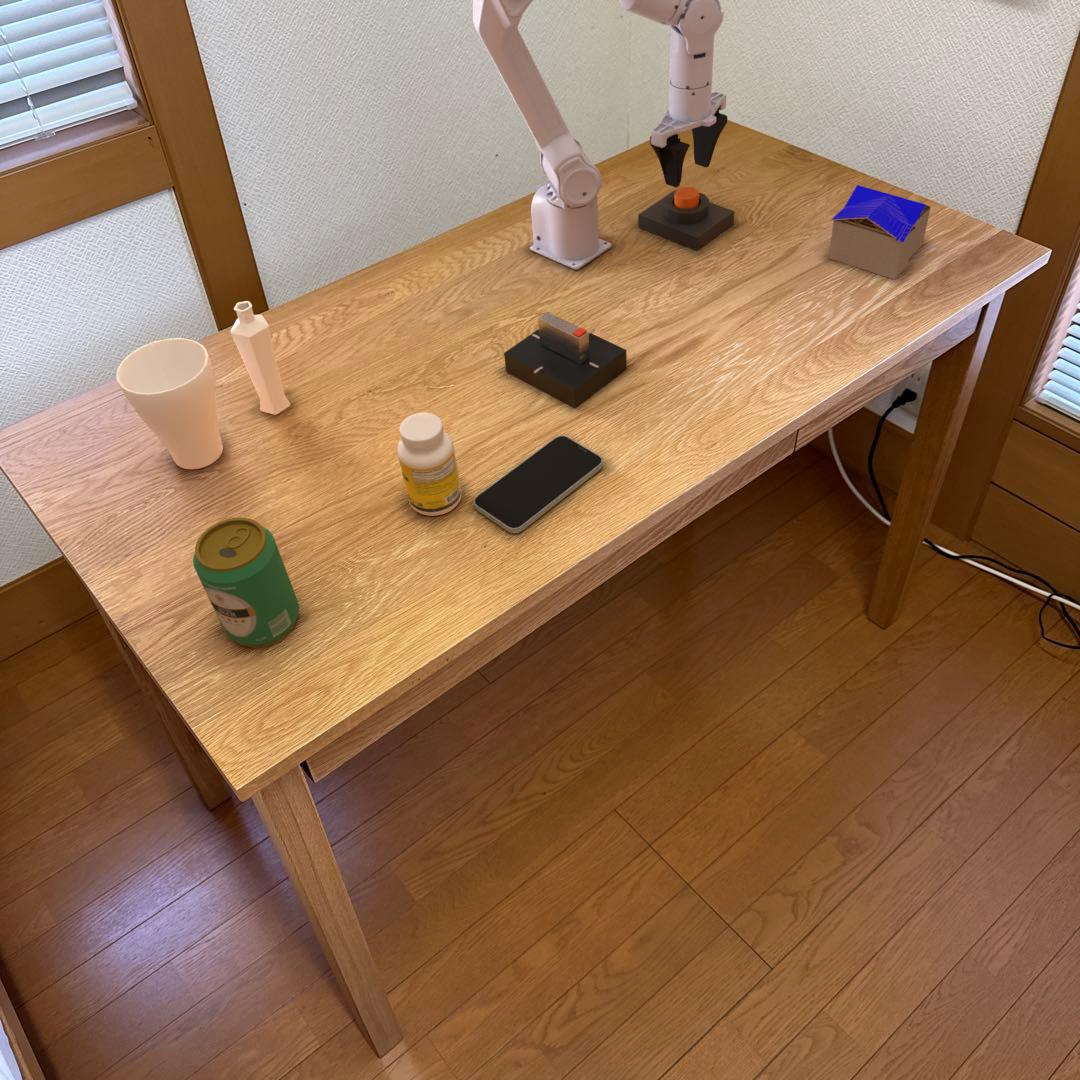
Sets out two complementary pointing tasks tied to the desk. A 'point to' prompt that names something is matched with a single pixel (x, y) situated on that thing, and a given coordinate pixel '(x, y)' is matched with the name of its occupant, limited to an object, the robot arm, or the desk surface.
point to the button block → (686, 221)
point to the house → (878, 231)
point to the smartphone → (538, 484)
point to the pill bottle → (428, 465)
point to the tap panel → (565, 368)
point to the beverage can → (246, 582)
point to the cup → (175, 398)
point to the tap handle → (564, 338)
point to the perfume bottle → (259, 357)
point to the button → (686, 198)
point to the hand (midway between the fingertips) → (687, 174)
